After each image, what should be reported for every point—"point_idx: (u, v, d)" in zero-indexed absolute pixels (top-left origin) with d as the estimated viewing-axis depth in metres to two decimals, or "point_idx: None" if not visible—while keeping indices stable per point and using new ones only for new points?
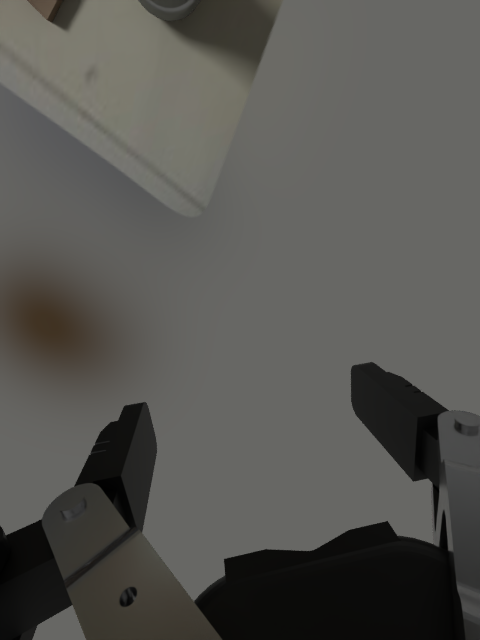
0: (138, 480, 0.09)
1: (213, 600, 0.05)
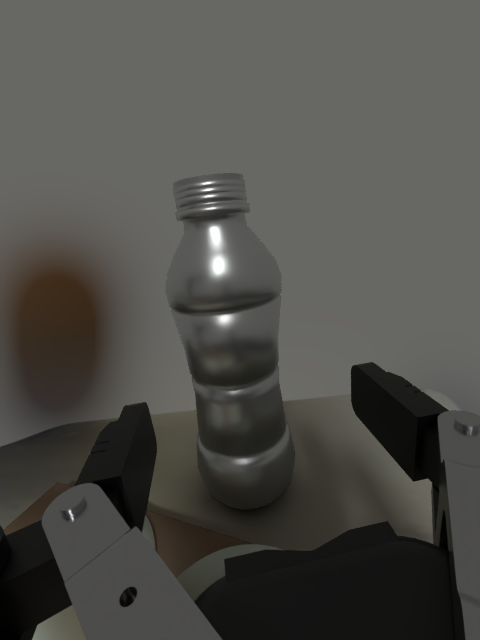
0: (139, 480, 0.09)
1: (213, 600, 0.05)
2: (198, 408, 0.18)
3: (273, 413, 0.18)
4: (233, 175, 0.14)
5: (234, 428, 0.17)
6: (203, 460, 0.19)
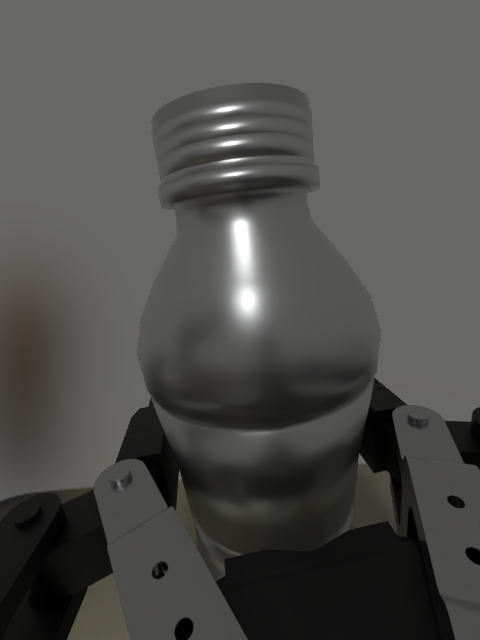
0: (171, 461, 0.09)
1: None
2: None
3: None
4: (296, 92, 0.06)
5: None
6: None
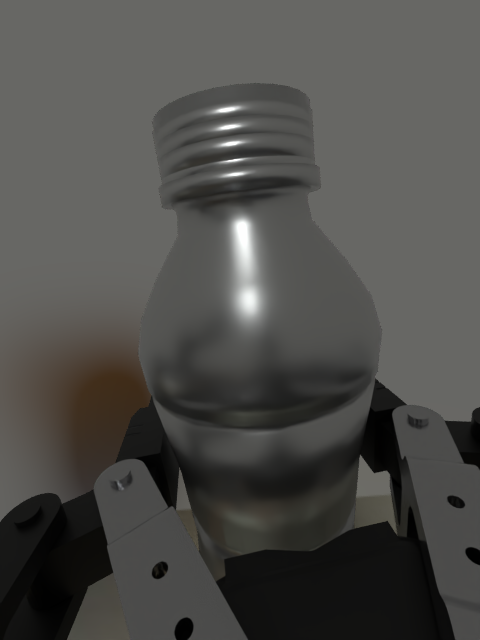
0: (171, 461, 0.09)
1: None
2: None
3: None
4: (296, 93, 0.06)
5: None
6: None
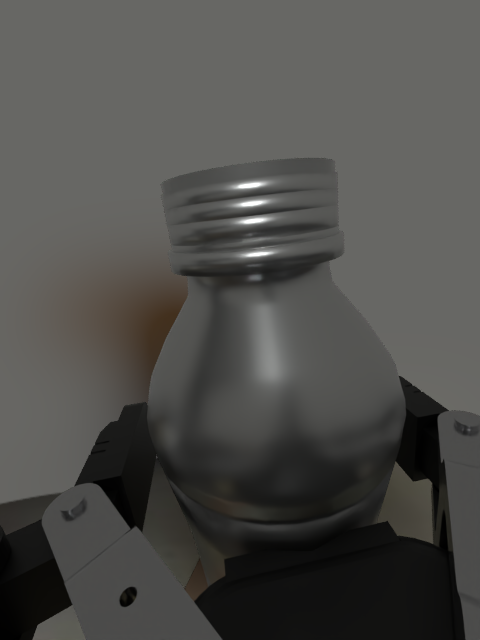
0: (138, 480, 0.09)
1: (213, 600, 0.05)
2: None
3: None
4: (322, 162, 0.05)
5: None
6: None
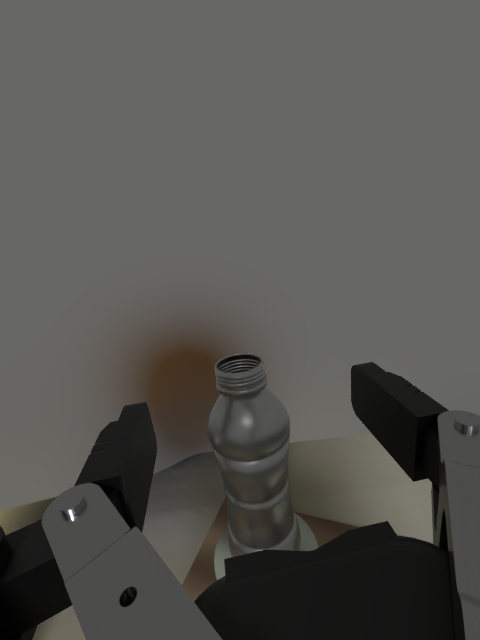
0: (138, 480, 0.09)
1: (213, 600, 0.05)
2: (230, 509, 0.25)
3: (285, 515, 0.24)
4: (256, 368, 0.21)
5: (256, 528, 0.24)
6: (233, 546, 0.26)
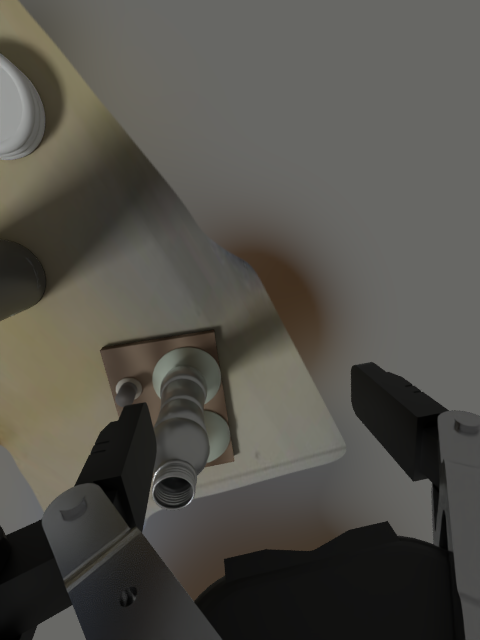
0: (138, 480, 0.09)
1: (213, 600, 0.05)
2: (163, 399, 0.37)
3: None
4: (169, 509, 0.26)
5: None
6: (162, 386, 0.40)
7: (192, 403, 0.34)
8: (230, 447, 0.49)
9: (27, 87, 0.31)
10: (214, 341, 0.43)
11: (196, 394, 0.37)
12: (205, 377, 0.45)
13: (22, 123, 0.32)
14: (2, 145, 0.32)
